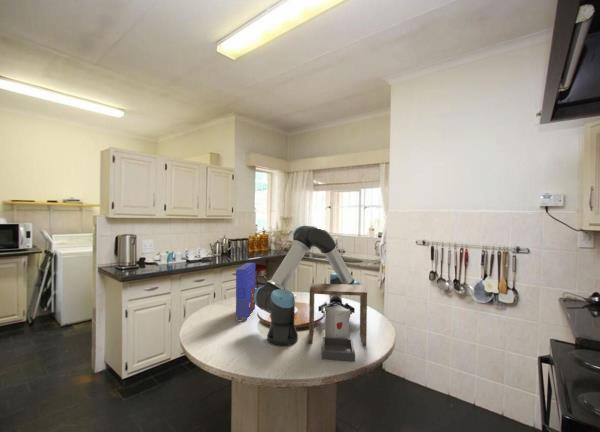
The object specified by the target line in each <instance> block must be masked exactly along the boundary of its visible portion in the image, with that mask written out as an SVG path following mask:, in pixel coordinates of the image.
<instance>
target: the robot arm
mask: <svg viewBox="0 0 600 432" xmlns="http://www.w3.org/2000/svg"><path fill="white" fill-rule="evenodd" d="M292 236H293V237H292V240H291V243H292V246H291V247H290V249H289V250H288V252H287V253H286V255H285V257H284V258H283V260H282V262H281V263H280V264H279V266H278V267H277V269H276V271H275V272H274V274H273V276H272V277H271V279H270V280H266V282H265V283H264V285H261V286H259V287H258V288H257V289H255V294H254V302H255V306H256V307H258V308H259V309H260V310H262V311H264V312H266V313H268V314H270V326H269V329H268V331H267V335H266V337H267V338H266V341H267V343H268V344H270V343H271V344H270V345H272V346H276V345H277V346H276V347H285V346H286V347H288V346H292V345H294V344H295V343H297V342H298V340H299V339H298V336H299V335H298V331H297V328H296V323H295V308H296V307H295V305H296V304H295V303H296V299H295V298H296V297H295V294H294V293H293V292H292V291H290V290H288V289H285V288H286V285H287V284H288V283H289V281H290V279H291V278H292V275H293V274H294V273H295V271H296V269H297V267H298V266H299V264H300V262H302V259H303V258H304V256H305V254H306V253H309V252H310V251H311V249H312V248H313V247H315V248H316V249H318V250H319V251H320V253H321V254H324V256H325V258H326V259H327V261H328V262H329V264H330V266H331V268H332V269H333V271H334V272H331V273H330V275H329V284H349V285H362V284H361V282H360V281H358V280H355V279H354V277H353V275H352V274H351V272H350V269H349V268H348V266H347V265H346V263H345V261H344V260H343V258H342V256H341V254H340V252H339V250H338V248H337V243H336V241H335V239H334V238H333V237H332V236H331V234H330V233H329V232H328V230H326V229H324V228H323V227H321V226H317V225H316V226H312V225H310V226H309V225H306V224H305V225H299V226H298V227H296V228H295V229H294V231H293V233H292ZM339 305H340V306H342V307H344V308H346V309H348V310H350V315H349V319H350V318H351V315H353V314H355V307H353V306H351V305H350V304H349V303H348V302H346V303H343V300H342V295H332V294H329V303H327V301H325V302H324V303H322V304H321V305H319V306H318V308H317V309H318V312H321V314H323V316H322V317H325V314H326V308H327V307H332V306H339Z"/></svg>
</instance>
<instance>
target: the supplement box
mask: <svg viewBox="0 0 600 432" xmlns="http://www.w3.org/2000/svg"><path fill="white" fill-rule="evenodd" d="M349 315H350V316H351V314H350V310H348V309H346V308H344V307H342V306H340V305H339V306H332V307H327V308H326V311H325V316H324V318H325V319H324V321H325V322H324V323H325V324H324V337H330V338H347V339H350V318H349Z"/></svg>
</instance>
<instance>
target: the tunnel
mask: <svg viewBox="0 0 600 432" xmlns="http://www.w3.org/2000/svg"><path fill="white" fill-rule="evenodd" d="M330 294H332V295H341V296H360V297H359V298H360V299H359V300H360V302H359V336H360V340H361V343H362V347H367V336H368V335H367V331H368V330H367V328H368V325H367V324H368V321H367V319H368V291H367V289H366V288H365V285H364V284H361V285H349V284H330V283H320V282H319V283H316V282H312V283H311V284H310V287H309V300H308V301H309V303H308V304H309V305H308V308H309V310H308V315H309V316H308V319H309V321H308V344H313V340H314V335H315V334H314V333H315V295H330Z"/></svg>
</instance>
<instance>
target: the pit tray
mask: <svg viewBox="0 0 600 432" xmlns="http://www.w3.org/2000/svg"><path fill="white" fill-rule="evenodd" d="M321 345H322V346H321V360H325V361H326V360H327V361H339V362H341V361H342V362H356V351H355V346H354V340H353V338H349V339H347V338H330V337H325V336H323V337H322V344H321Z"/></svg>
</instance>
